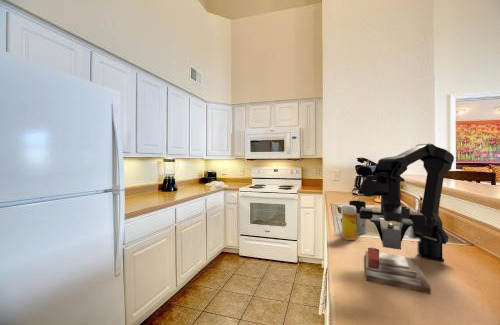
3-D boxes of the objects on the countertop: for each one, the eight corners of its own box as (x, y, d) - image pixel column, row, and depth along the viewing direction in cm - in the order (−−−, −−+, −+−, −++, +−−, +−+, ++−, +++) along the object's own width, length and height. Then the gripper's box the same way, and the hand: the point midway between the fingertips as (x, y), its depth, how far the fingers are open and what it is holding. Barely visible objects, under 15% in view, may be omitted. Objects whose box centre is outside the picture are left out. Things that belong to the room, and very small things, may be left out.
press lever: (380, 270, 69) (380, 248, 69) (381, 275, 66) (381, 252, 66) (366, 267, 71) (365, 246, 71) (366, 272, 67) (366, 250, 67)
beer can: (358, 241, 100) (357, 207, 100) (343, 240, 101) (343, 206, 101) (354, 237, 106) (354, 205, 106) (340, 236, 107) (340, 204, 107)
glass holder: (363, 229, 118) (363, 200, 119) (374, 238, 104) (374, 205, 105) (345, 228, 120) (345, 200, 120) (354, 237, 106) (354, 205, 106)
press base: (414, 263, 78) (414, 255, 78) (430, 294, 59) (430, 283, 59) (365, 255, 85) (365, 247, 85) (366, 280, 66) (366, 271, 66)
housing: (398, 242, 78) (397, 222, 78) (401, 249, 72) (401, 227, 72) (381, 240, 81) (381, 221, 81) (383, 247, 74) (382, 225, 74)
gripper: (359, 196, 73) (359, 244, 73) (431, 200, 65) (431, 254, 65) (359, 192, 83) (360, 234, 83) (422, 195, 75) (422, 242, 75)
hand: (390, 241), depth 76 cm, fingers closed on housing, 5 cm apart
